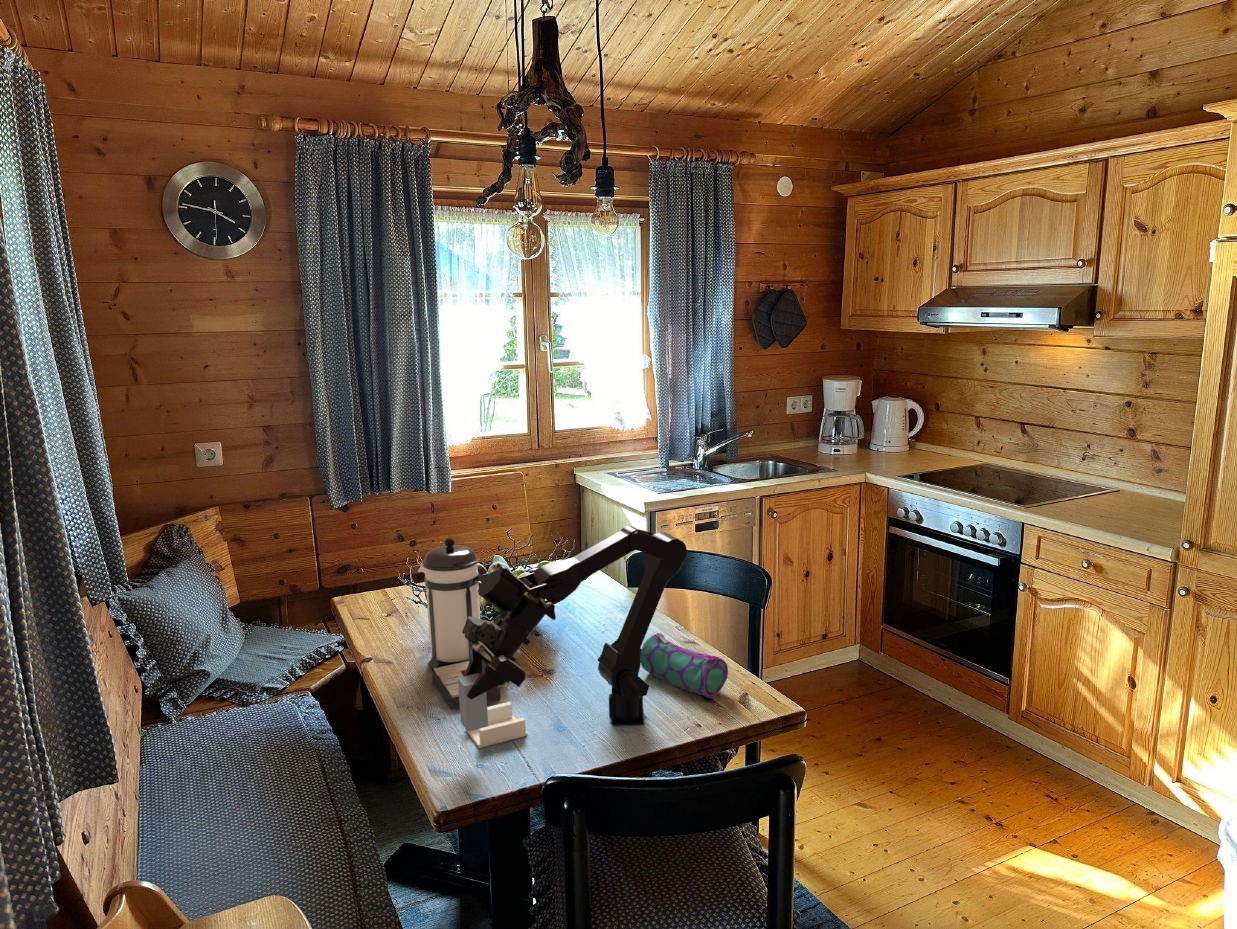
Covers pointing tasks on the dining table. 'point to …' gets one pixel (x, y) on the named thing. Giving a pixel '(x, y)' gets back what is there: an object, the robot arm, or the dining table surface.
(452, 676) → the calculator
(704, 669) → the pencil case
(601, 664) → the robot arm
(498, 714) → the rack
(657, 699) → the dining table surface
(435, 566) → the coffee press
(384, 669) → the dining table surface
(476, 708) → the grey rectangular prism
